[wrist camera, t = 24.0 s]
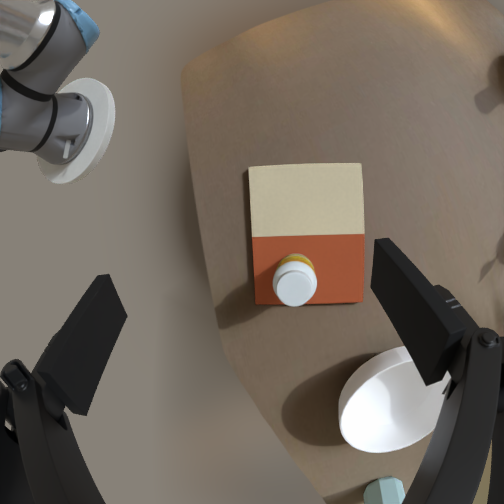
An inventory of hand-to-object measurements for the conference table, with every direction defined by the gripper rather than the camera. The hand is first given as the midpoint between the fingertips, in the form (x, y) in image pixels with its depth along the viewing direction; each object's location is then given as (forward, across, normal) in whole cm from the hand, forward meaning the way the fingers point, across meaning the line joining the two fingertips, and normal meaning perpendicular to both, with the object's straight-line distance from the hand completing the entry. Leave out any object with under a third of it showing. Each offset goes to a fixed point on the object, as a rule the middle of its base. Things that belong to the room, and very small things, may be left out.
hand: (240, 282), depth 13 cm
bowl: (+15, +20, -35) cm, 43 cm away
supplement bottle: (+23, +6, -15) cm, 28 cm away
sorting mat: (+26, +8, -10) cm, 29 cm away
